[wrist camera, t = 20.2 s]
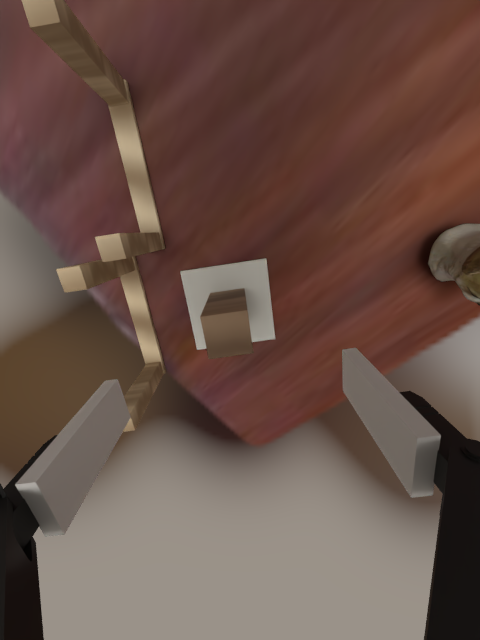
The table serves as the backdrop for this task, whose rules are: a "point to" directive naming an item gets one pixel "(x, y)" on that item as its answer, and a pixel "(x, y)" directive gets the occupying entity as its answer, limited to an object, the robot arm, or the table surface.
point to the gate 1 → (96, 70)
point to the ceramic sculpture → (458, 259)
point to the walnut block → (226, 324)
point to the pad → (231, 278)
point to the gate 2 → (142, 319)
